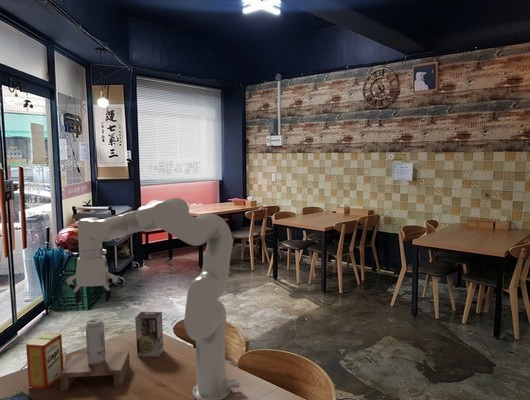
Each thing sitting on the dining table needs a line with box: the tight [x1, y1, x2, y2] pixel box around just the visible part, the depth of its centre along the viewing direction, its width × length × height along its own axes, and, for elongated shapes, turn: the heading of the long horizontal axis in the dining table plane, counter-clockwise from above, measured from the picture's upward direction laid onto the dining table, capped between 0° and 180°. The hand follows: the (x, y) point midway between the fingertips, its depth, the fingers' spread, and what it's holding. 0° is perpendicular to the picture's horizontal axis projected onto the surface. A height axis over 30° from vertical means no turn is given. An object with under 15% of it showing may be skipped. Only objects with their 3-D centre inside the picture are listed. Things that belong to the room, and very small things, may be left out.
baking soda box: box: [25, 332, 64, 390], centre depth 152 cm, size 10×6×16 cm
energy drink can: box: [85, 318, 106, 365], centre depth 153 cm, size 6×6×15 cm
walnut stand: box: [59, 351, 131, 391], centre depth 154 cm, size 20×14×6 cm
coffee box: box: [134, 311, 164, 358], centre depth 173 cm, size 9×6×16 cm
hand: (93, 301), depth 152 cm, fingers open, 9 cm apart
